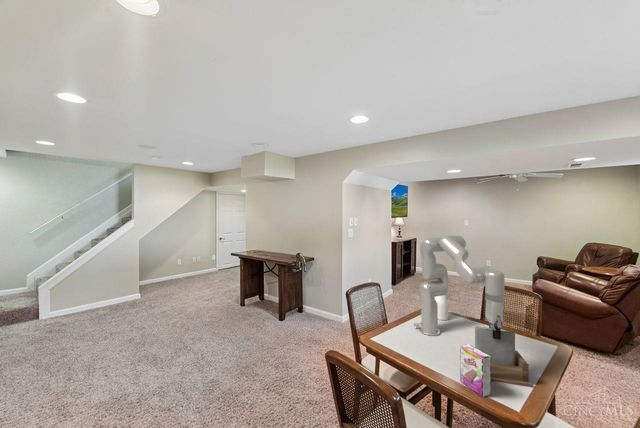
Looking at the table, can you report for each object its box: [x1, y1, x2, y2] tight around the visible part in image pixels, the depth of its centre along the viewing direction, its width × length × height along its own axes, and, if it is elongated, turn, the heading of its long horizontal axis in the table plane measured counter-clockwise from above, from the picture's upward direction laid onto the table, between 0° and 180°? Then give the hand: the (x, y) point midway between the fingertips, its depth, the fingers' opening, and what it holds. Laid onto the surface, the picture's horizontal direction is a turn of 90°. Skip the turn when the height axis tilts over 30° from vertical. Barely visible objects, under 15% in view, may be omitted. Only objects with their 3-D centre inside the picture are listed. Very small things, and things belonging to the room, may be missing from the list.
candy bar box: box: [459, 343, 492, 398], centre depth 114 cm, size 11×5×16 cm, turn 21°
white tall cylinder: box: [434, 294, 449, 321], centre depth 190 cm, size 10×10×30 cm
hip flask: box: [474, 324, 516, 366], centre depth 125 cm, size 16×4×20 cm, turn 64°
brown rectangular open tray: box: [491, 350, 534, 388], centre depth 125 cm, size 15×24×9 cm, turn 73°
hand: (494, 335), depth 125 cm, fingers closed on hip flask, 4 cm apart
